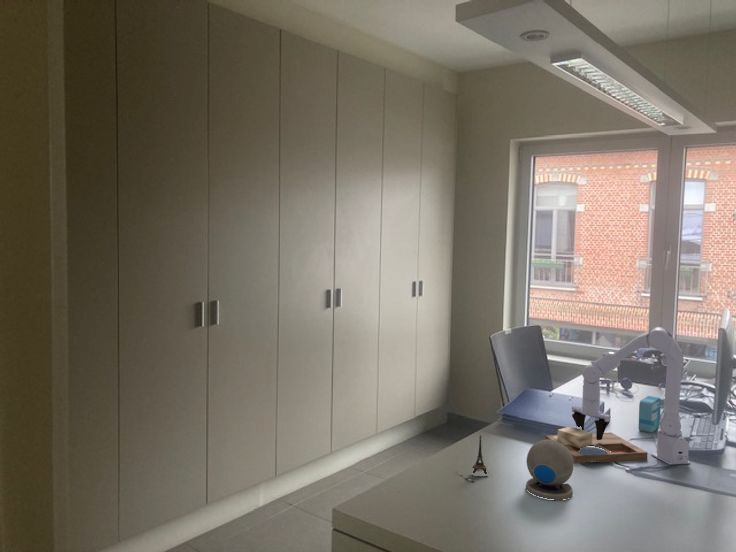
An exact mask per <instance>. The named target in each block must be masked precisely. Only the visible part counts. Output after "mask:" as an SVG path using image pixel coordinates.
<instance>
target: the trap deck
mask: <svg viewBox="0 0 736 552" xmlns="http://www.w3.org/2000/svg"><path fill="white" fill-rule="evenodd" d="M591 433H592V445H589V446H595V447H599V448H602V449H604V450H605V451H607V454H601V455H582V454H581V453H579V452H578V451H579V450H580V448H577V447H574V446H571V445H568V444H565V443H562V442H560V443H561V444H563V445H564V446H565V447H566V448H567V449H568V450H569V451H570V453H571V455H572V458H573V462H574V464H575V463H581V464H586V463H585V462H591V461H593V462H594V461H596V462H597V461H599V463H613V462H615V461H616V462H633V461H647V460H648V451H646V450H643V449H642V448H640V447H638V446H637V445H635V444H633V443H631V442H629V441H627V440H626V439H624V438H622V437H620V436H618V435H617V434H615V433H613V432H604V434H603V437H602V440H597V438H596V432H591ZM557 438H558V434H551V435H550V434H548V435H547V434H546V435H545V439H544V440H547V439H549V440H555V441H557ZM558 442H559V441H558ZM610 451H611V452H610ZM616 462H615V463H616Z"/></svg>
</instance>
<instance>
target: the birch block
mask: <svg viewBox="0 0 736 552" xmlns="http://www.w3.org/2000/svg"><path fill="white" fill-rule="evenodd" d="M592 433H593V432H590V431H587V430H585V429H584V430H580V429H577V427H572V426H570V425H569V426H566V427H563V428H559V429H557V435H558V438H557V441H559V442H562V443H565V444H568V445H571V446H574V447H577V448H583V447H586V446H589V445H592Z"/></svg>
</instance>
